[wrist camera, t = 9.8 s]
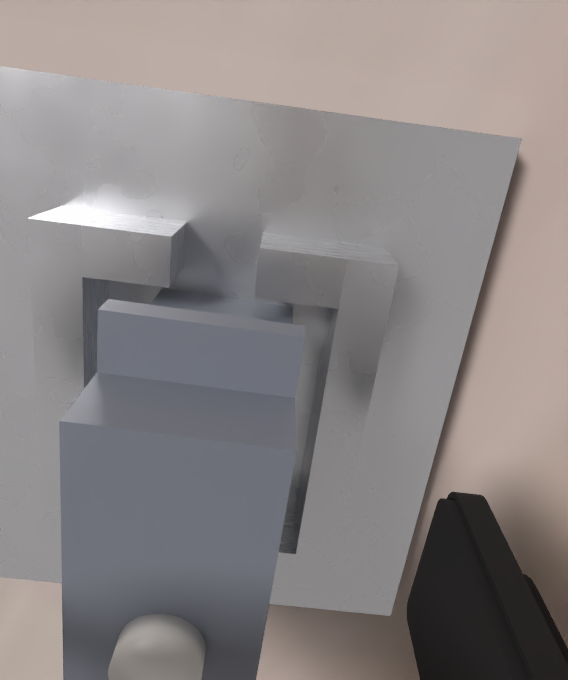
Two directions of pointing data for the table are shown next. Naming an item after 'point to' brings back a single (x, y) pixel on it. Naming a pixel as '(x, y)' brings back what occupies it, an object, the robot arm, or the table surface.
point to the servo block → (177, 488)
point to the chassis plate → (246, 293)
